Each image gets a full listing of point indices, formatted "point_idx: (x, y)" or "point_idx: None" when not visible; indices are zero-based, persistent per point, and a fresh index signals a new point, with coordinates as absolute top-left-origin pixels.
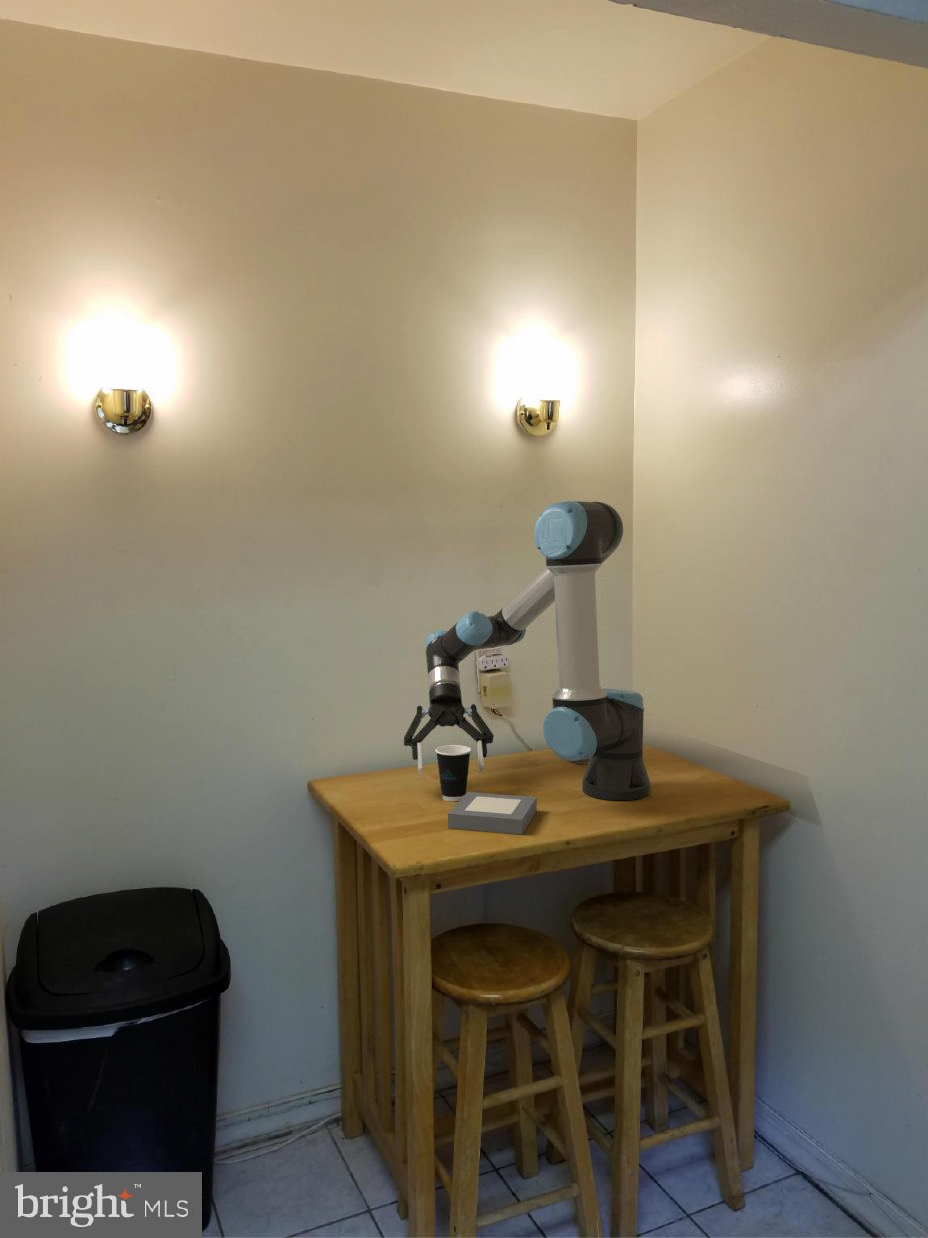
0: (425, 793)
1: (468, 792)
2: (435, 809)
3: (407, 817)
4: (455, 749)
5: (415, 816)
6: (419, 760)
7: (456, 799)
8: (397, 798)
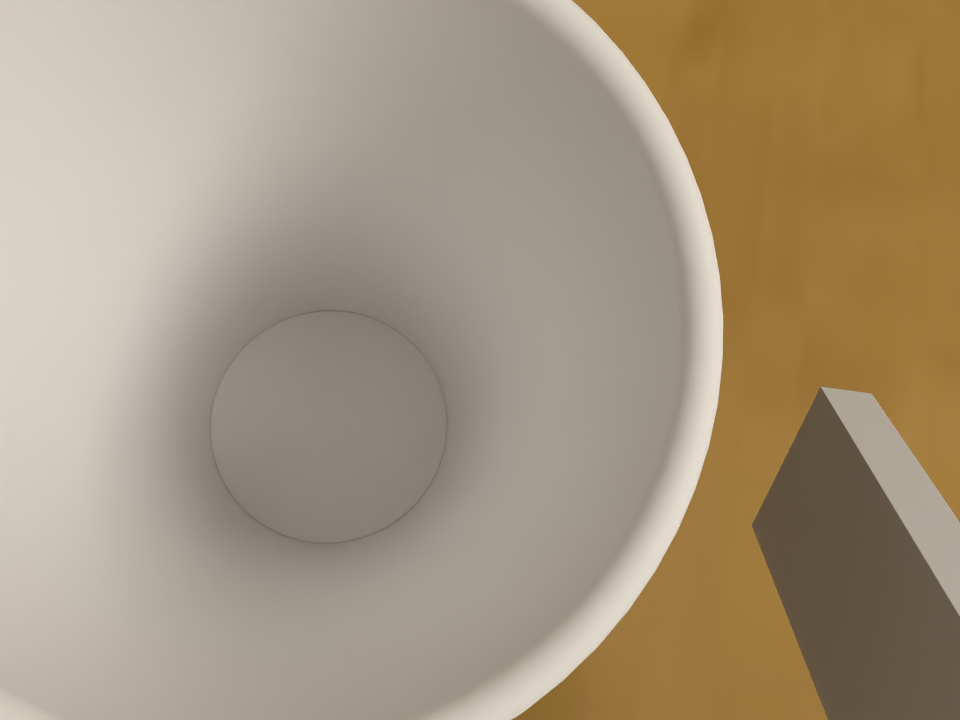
0: (588, 663)
1: None
2: None
3: (825, 15)
4: (121, 691)
5: (762, 18)
6: (919, 485)
7: (330, 310)
8: None
